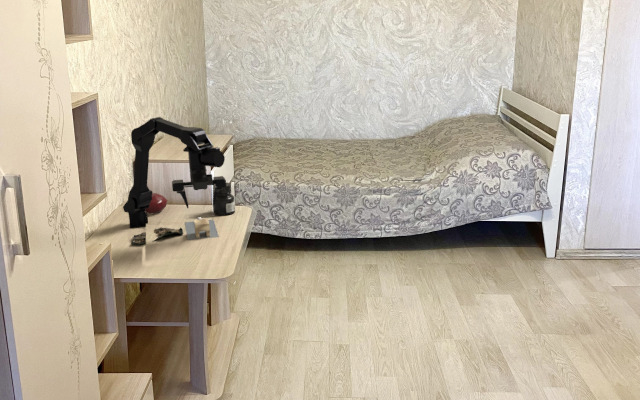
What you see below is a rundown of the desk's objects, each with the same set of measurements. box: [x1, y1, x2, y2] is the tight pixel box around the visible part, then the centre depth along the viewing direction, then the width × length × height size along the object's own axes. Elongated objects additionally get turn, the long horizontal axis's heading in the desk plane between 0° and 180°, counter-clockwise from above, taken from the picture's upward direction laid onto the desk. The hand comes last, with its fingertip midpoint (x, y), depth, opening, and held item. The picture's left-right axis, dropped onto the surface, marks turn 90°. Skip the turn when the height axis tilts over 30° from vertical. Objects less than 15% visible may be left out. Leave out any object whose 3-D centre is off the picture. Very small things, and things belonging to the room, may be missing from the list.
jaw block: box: [193, 218, 210, 238], centre depth 238 cm, size 5×6×5 cm
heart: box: [145, 192, 168, 215], centre depth 271 cm, size 12×8×10 cm
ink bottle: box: [212, 182, 236, 216], centre depth 267 cm, size 10×9×12 cm
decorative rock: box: [131, 226, 184, 246], centre depth 240 cm, size 19×6×15 cm
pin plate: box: [184, 216, 220, 241], centre depth 245 cm, size 11×21×4 cm, turn 14°
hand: (200, 206), depth 236 cm, fingers open, 9 cm apart
